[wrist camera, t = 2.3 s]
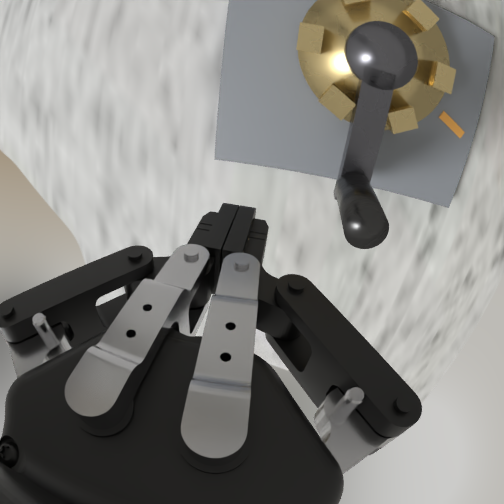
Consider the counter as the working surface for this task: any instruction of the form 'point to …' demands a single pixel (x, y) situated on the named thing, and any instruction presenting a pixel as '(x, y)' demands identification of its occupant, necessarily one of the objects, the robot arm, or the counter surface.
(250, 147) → the base plate
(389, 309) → the counter surface
